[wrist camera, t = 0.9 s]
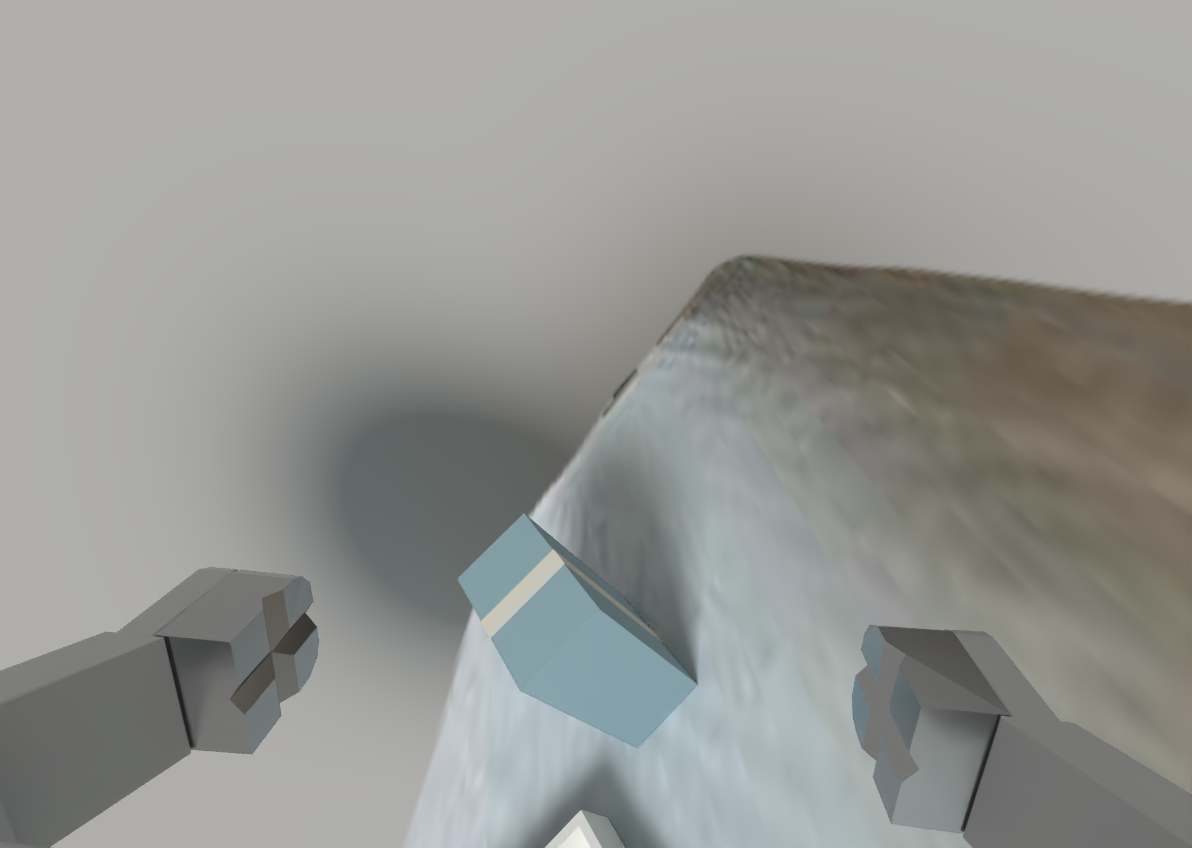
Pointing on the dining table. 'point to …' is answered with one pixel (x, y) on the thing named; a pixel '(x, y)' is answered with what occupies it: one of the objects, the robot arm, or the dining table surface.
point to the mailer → (587, 833)
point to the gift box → (572, 636)
